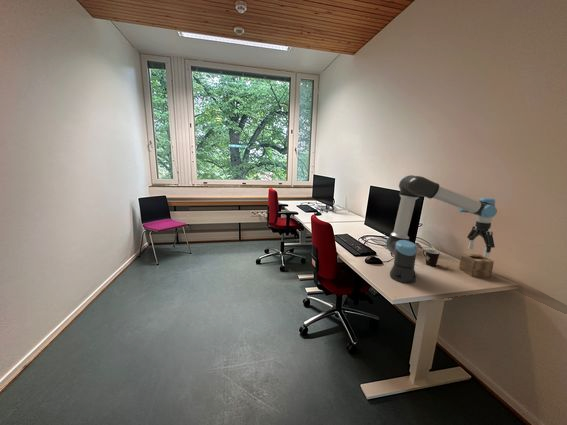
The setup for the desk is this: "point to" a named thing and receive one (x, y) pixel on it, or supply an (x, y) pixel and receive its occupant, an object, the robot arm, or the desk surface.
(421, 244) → the desk surface
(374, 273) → the desk surface
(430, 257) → the coffee mug
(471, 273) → the box
